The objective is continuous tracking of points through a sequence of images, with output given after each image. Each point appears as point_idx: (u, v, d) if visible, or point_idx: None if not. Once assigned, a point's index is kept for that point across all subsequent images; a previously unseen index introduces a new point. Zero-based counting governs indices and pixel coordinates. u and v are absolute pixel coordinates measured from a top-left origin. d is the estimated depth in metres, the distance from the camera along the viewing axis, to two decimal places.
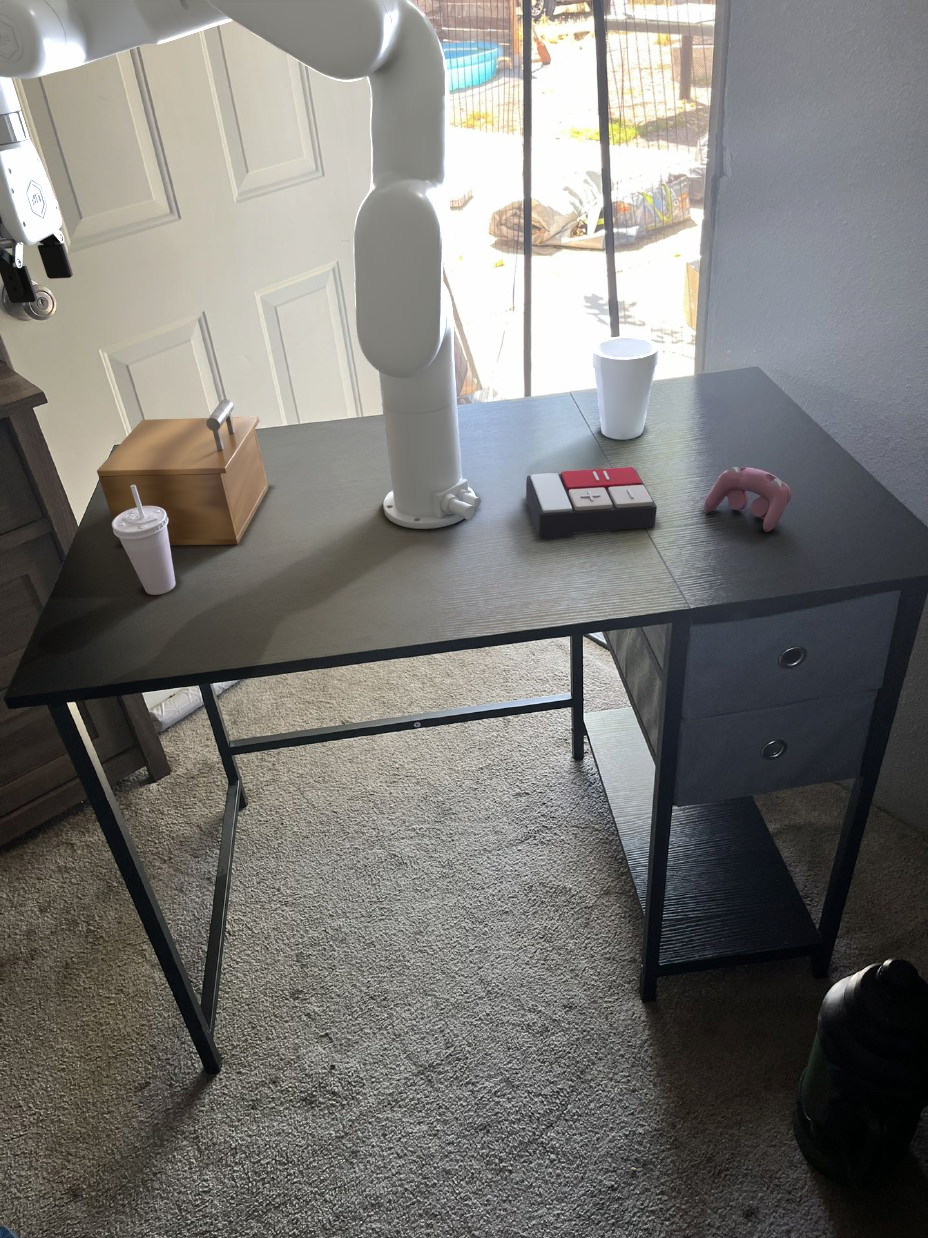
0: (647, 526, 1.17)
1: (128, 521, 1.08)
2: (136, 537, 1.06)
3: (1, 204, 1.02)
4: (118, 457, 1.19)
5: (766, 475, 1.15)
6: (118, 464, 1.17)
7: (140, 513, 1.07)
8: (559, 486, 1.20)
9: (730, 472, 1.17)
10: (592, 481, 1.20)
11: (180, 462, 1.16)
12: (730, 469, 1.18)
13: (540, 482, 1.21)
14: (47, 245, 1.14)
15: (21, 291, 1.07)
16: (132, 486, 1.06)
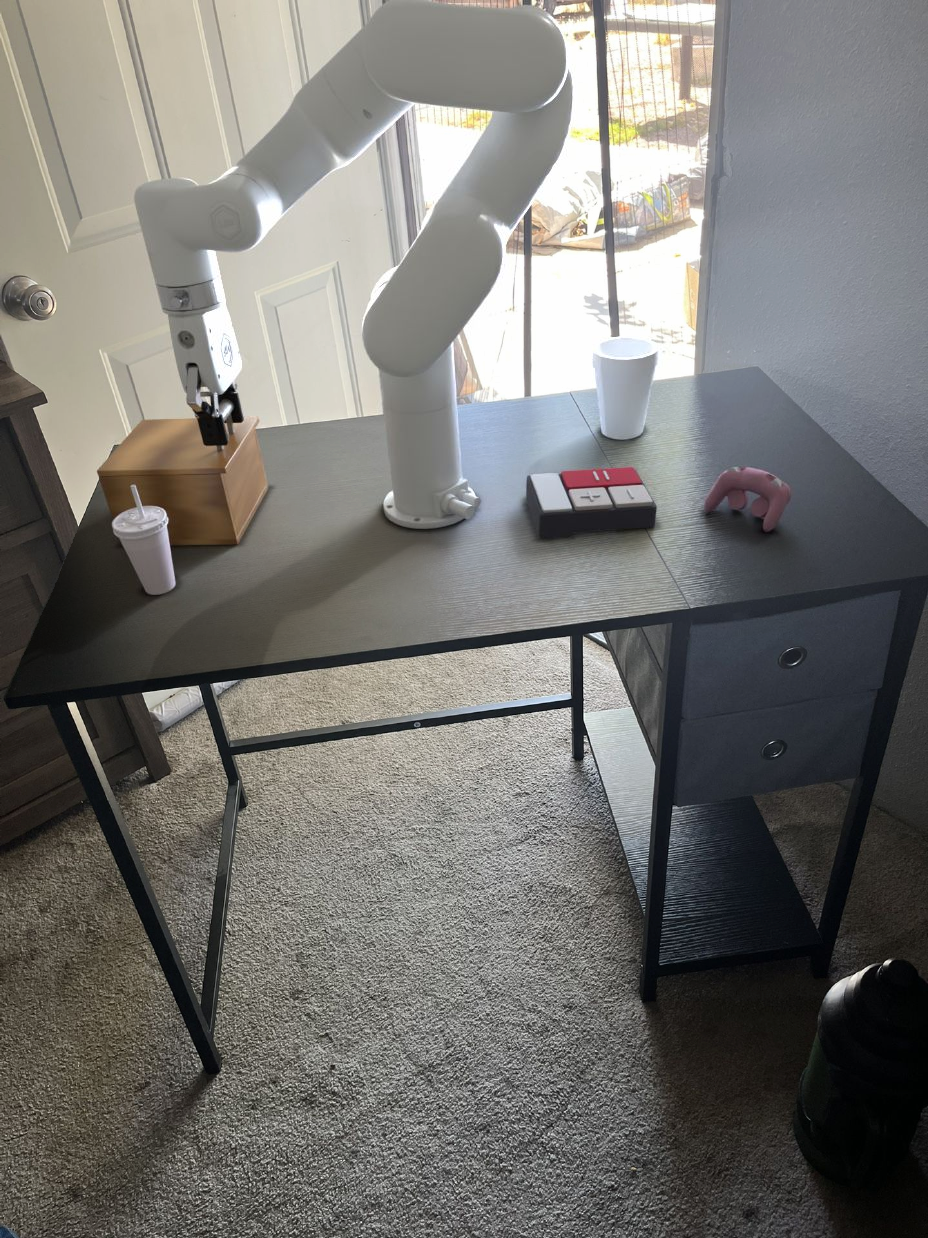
0: (647, 526, 1.17)
1: (128, 521, 1.08)
2: (136, 537, 1.06)
3: (201, 361, 1.09)
4: (118, 457, 1.19)
5: (766, 475, 1.15)
6: (118, 464, 1.17)
7: (140, 513, 1.07)
8: (559, 486, 1.20)
9: (730, 472, 1.17)
10: (592, 481, 1.20)
11: (180, 462, 1.16)
12: (730, 469, 1.18)
13: (540, 482, 1.21)
14: (223, 394, 1.20)
15: (216, 437, 1.16)
16: (132, 486, 1.06)
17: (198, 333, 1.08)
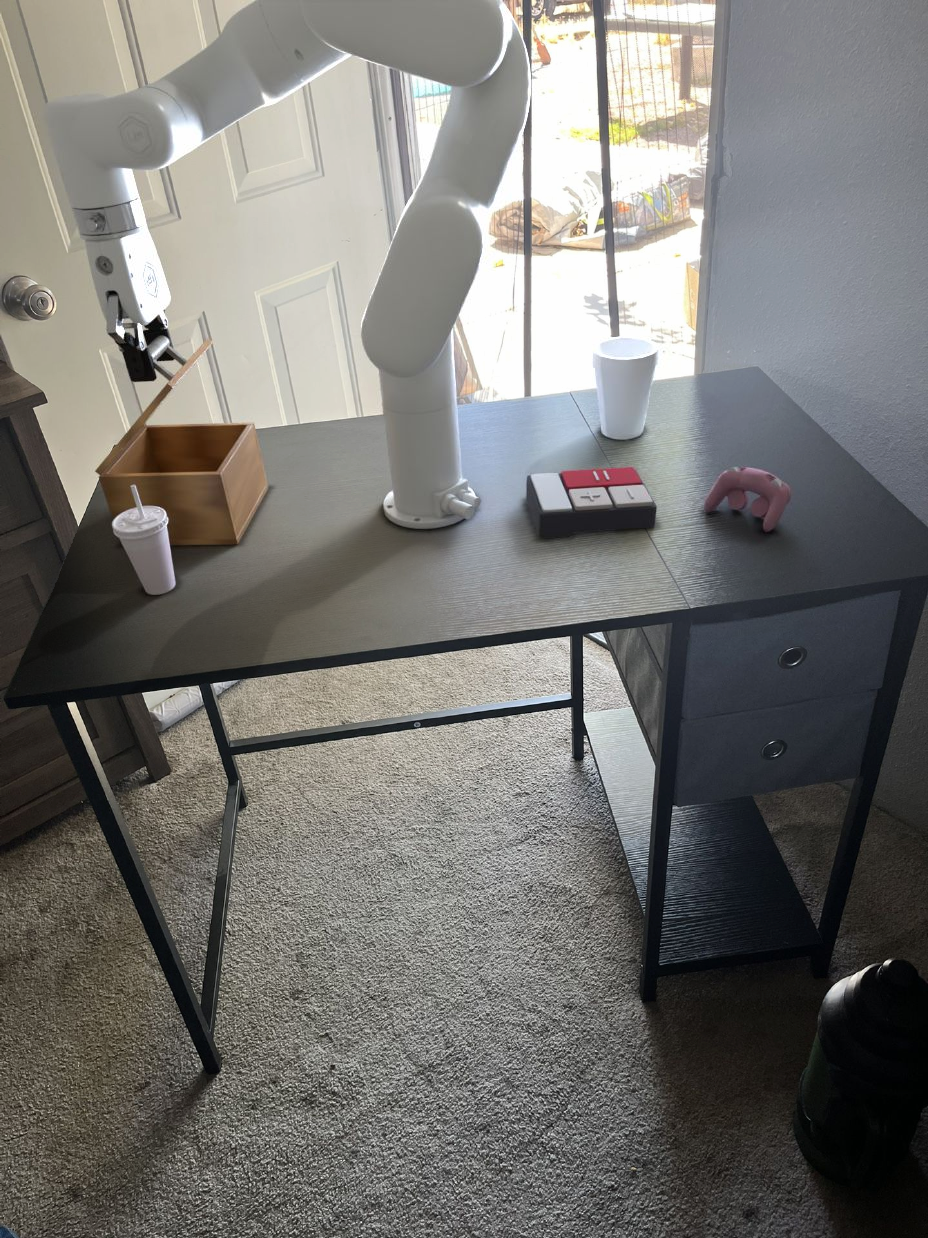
0: (647, 526, 1.17)
1: (128, 521, 1.08)
2: (136, 537, 1.06)
3: (121, 288, 1.05)
4: None
5: (766, 475, 1.15)
6: None
7: (140, 513, 1.07)
8: (559, 486, 1.20)
9: (730, 472, 1.17)
10: (592, 481, 1.20)
11: None
12: (730, 469, 1.18)
13: (540, 482, 1.21)
14: (153, 330, 1.16)
15: (143, 372, 1.11)
16: (132, 486, 1.06)
17: (116, 258, 1.03)
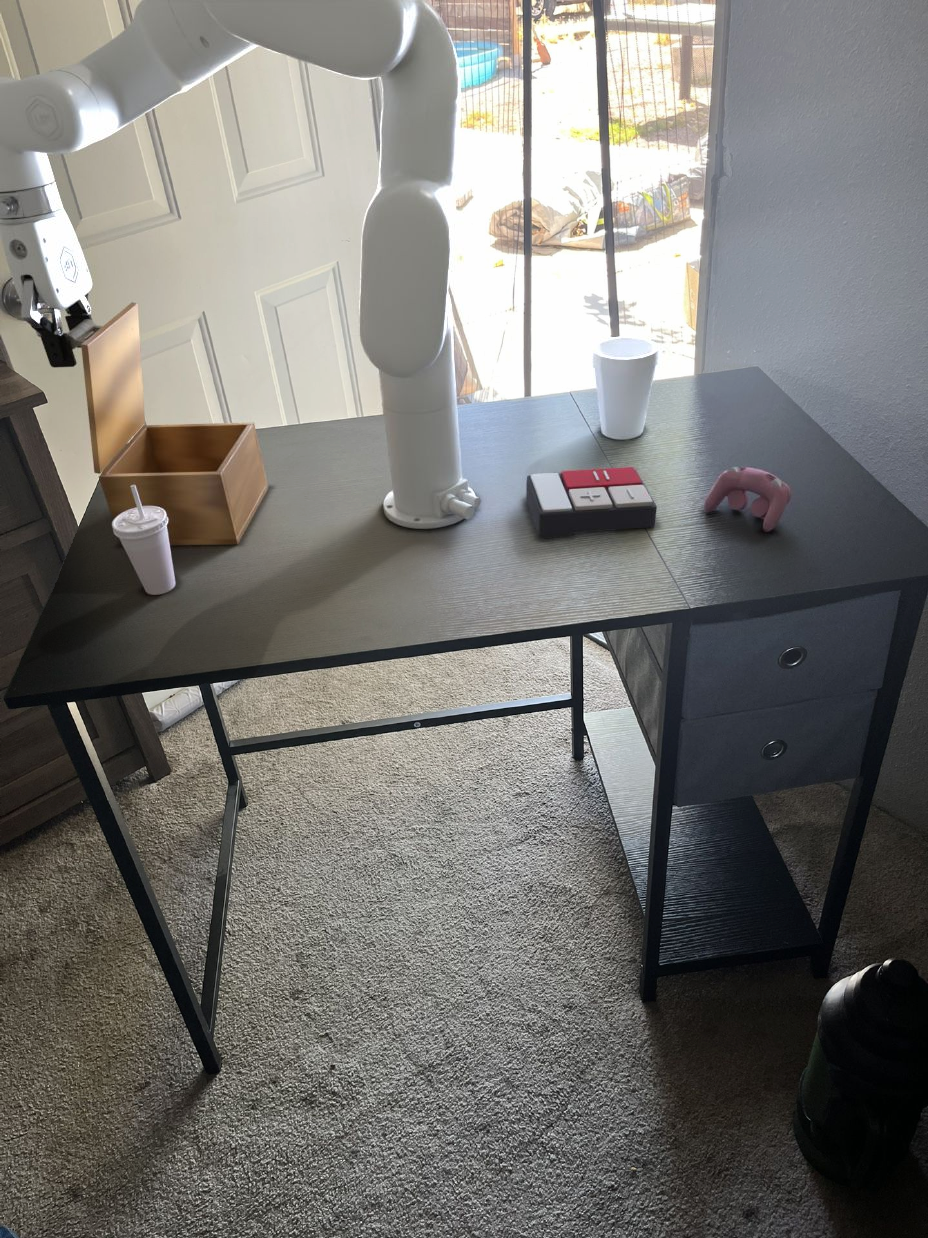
0: (647, 526, 1.17)
1: (128, 521, 1.08)
2: (136, 537, 1.06)
3: (36, 272, 1.05)
4: None
5: (766, 475, 1.15)
6: None
7: (140, 513, 1.07)
8: (559, 486, 1.20)
9: (730, 472, 1.17)
10: (592, 481, 1.20)
11: None
12: (730, 469, 1.18)
13: (540, 482, 1.21)
14: (75, 316, 1.16)
15: (62, 357, 1.11)
16: (132, 486, 1.06)
17: (30, 242, 1.03)
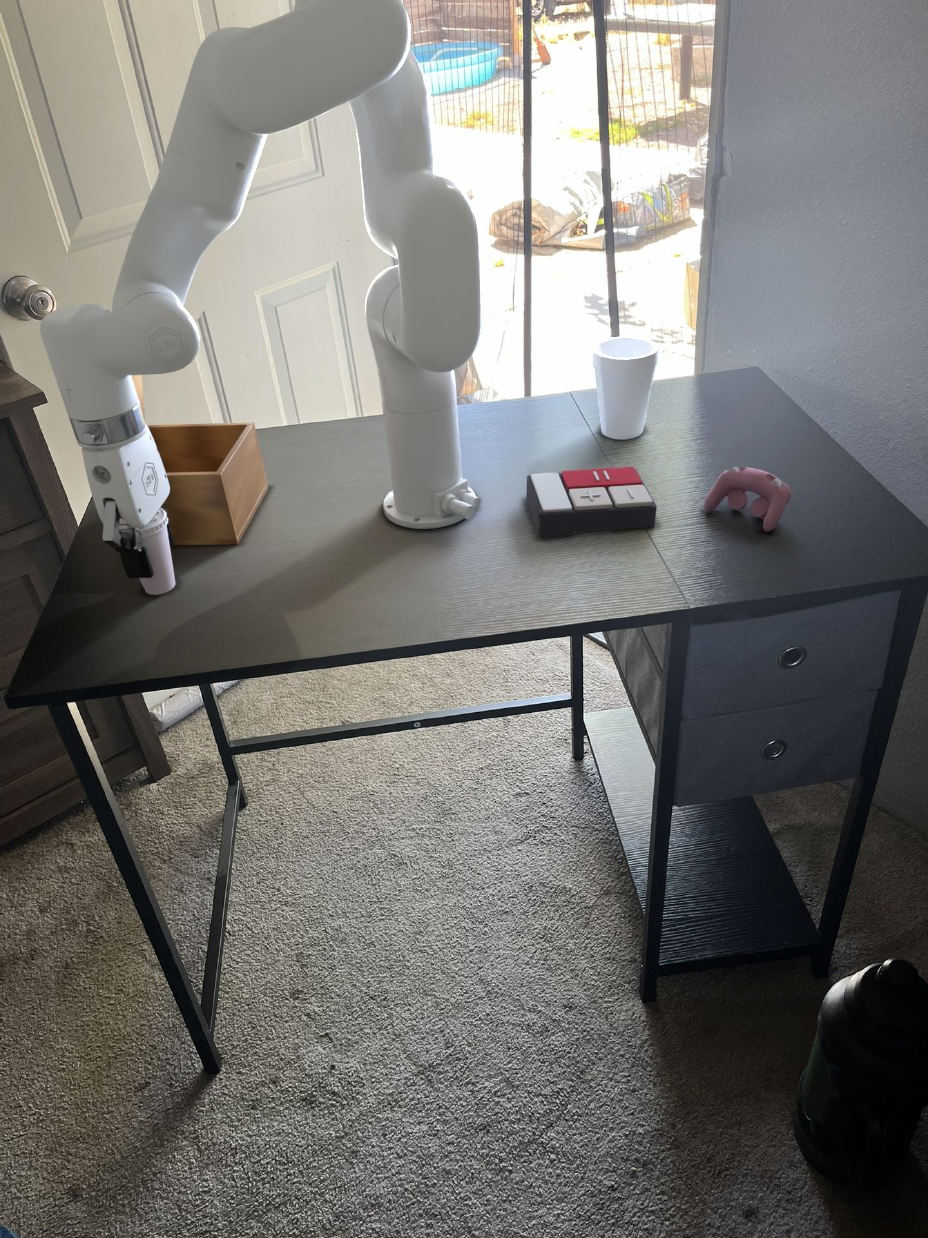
0: (647, 526, 1.17)
1: None
2: None
3: (119, 496, 1.01)
4: None
5: (766, 475, 1.15)
6: None
7: None
8: (559, 486, 1.20)
9: (730, 472, 1.17)
10: (592, 481, 1.20)
11: None
12: (730, 469, 1.18)
13: (540, 482, 1.21)
14: None
15: (140, 570, 1.07)
16: None
17: (114, 468, 0.99)
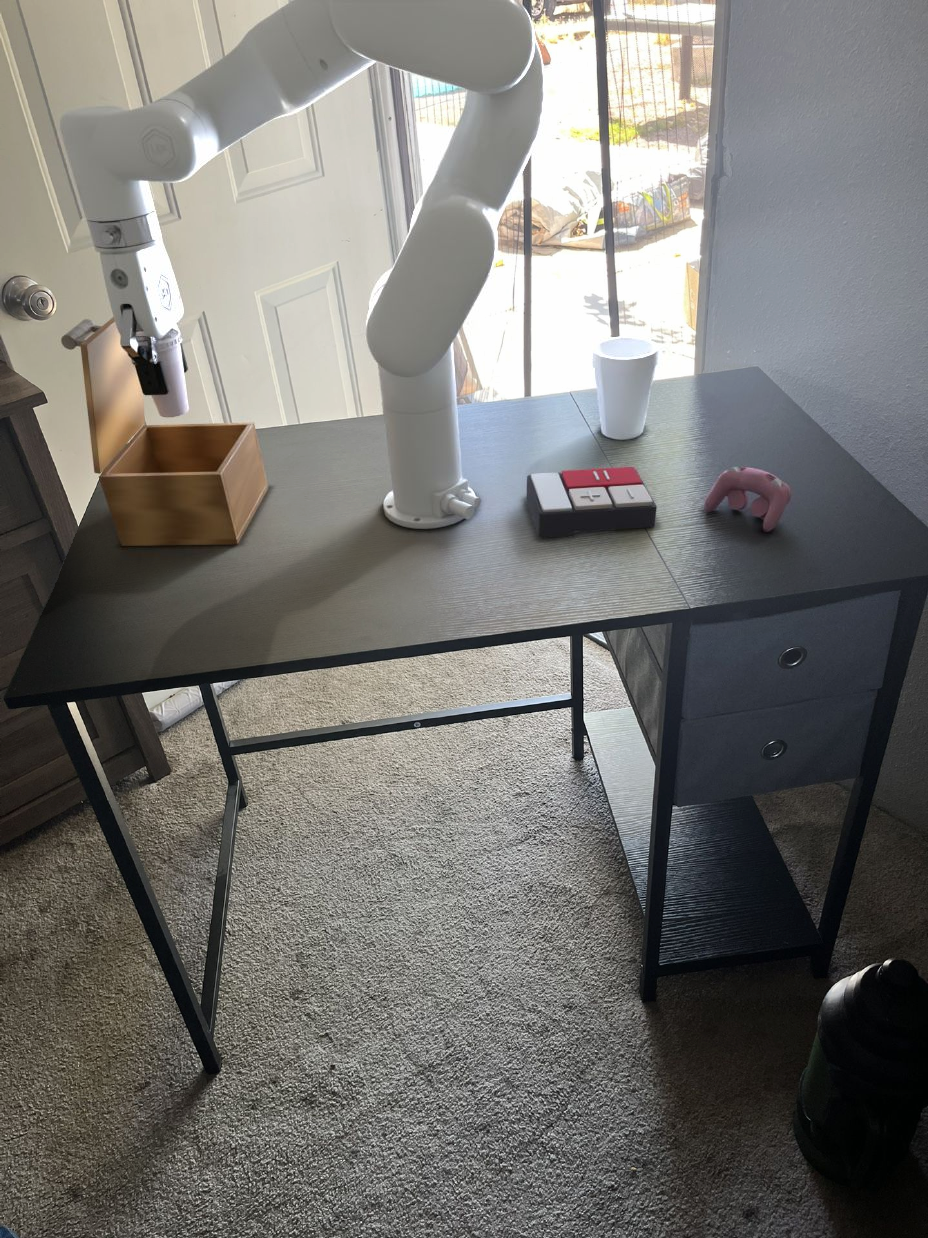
0: (647, 526, 1.17)
1: None
2: None
3: (136, 301, 1.04)
4: None
5: (766, 475, 1.15)
6: None
7: None
8: (559, 485, 1.20)
9: (730, 472, 1.17)
10: (592, 481, 1.20)
11: None
12: (730, 469, 1.18)
13: (540, 481, 1.21)
14: None
15: (155, 385, 1.10)
16: None
17: (132, 271, 1.02)
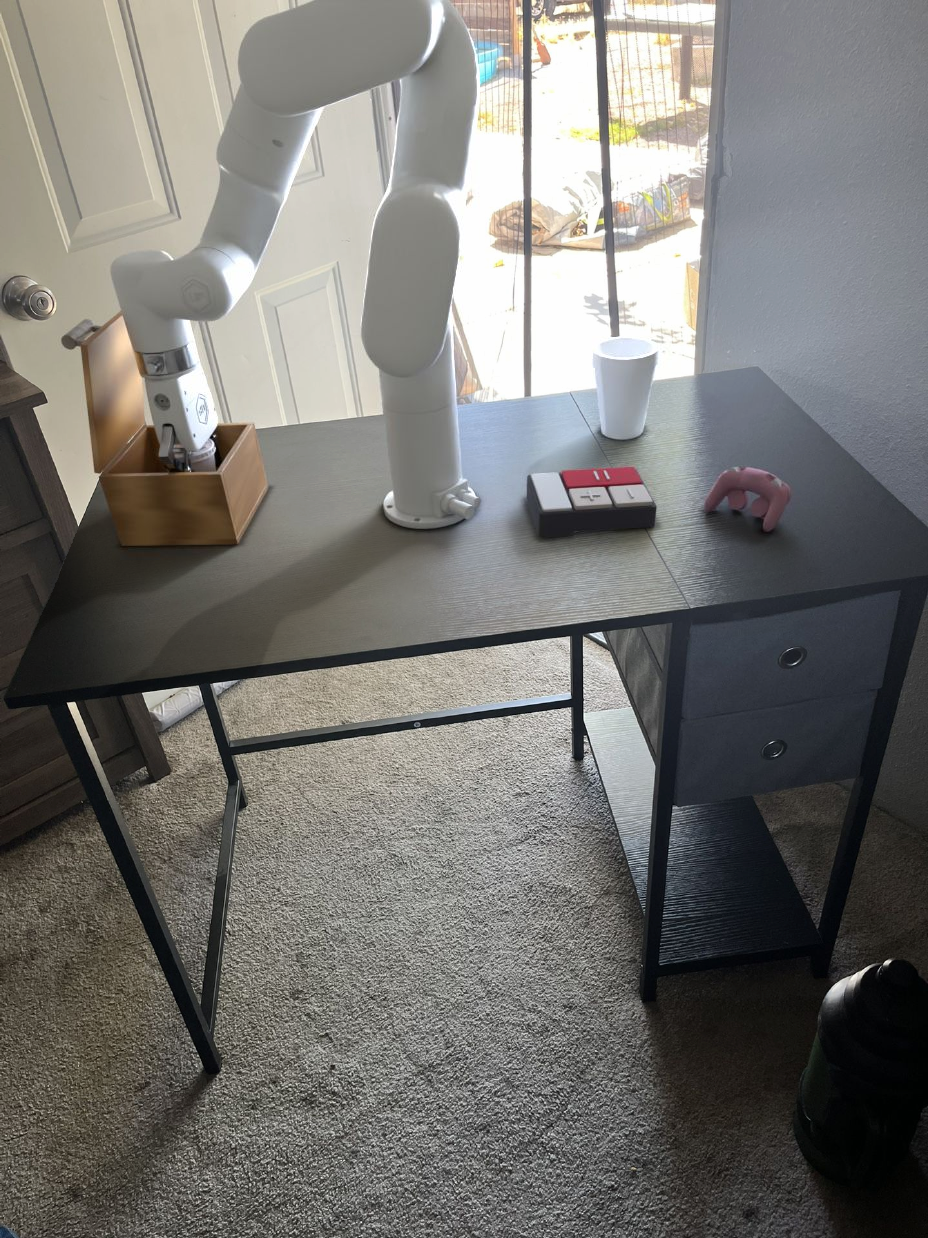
0: (647, 526, 1.17)
1: None
2: None
3: (176, 422, 1.14)
4: None
5: (766, 475, 1.15)
6: None
7: None
8: (559, 485, 1.20)
9: (730, 472, 1.17)
10: (592, 480, 1.20)
11: None
12: (730, 469, 1.18)
13: (540, 481, 1.21)
14: None
15: None
16: None
17: (173, 396, 1.13)
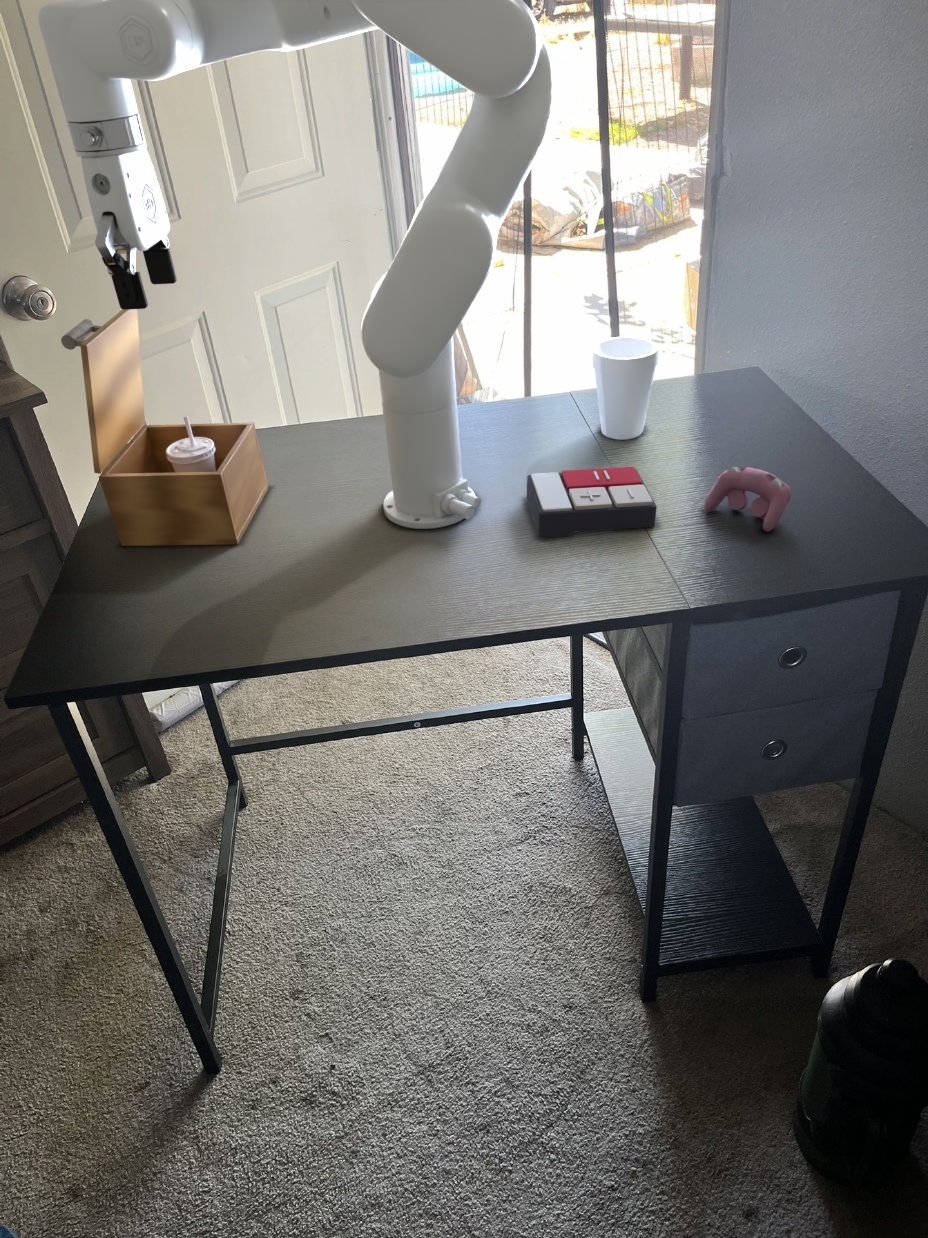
0: (647, 526, 1.17)
1: (180, 449, 1.21)
2: (188, 462, 1.20)
3: (118, 209, 1.00)
4: None
5: (766, 475, 1.15)
6: None
7: (191, 441, 1.21)
8: (559, 485, 1.20)
9: (730, 472, 1.17)
10: (592, 480, 1.20)
11: None
12: (730, 469, 1.18)
13: (540, 481, 1.21)
14: (153, 250, 1.12)
15: (133, 297, 1.05)
16: (185, 416, 1.19)
17: (114, 176, 0.98)
